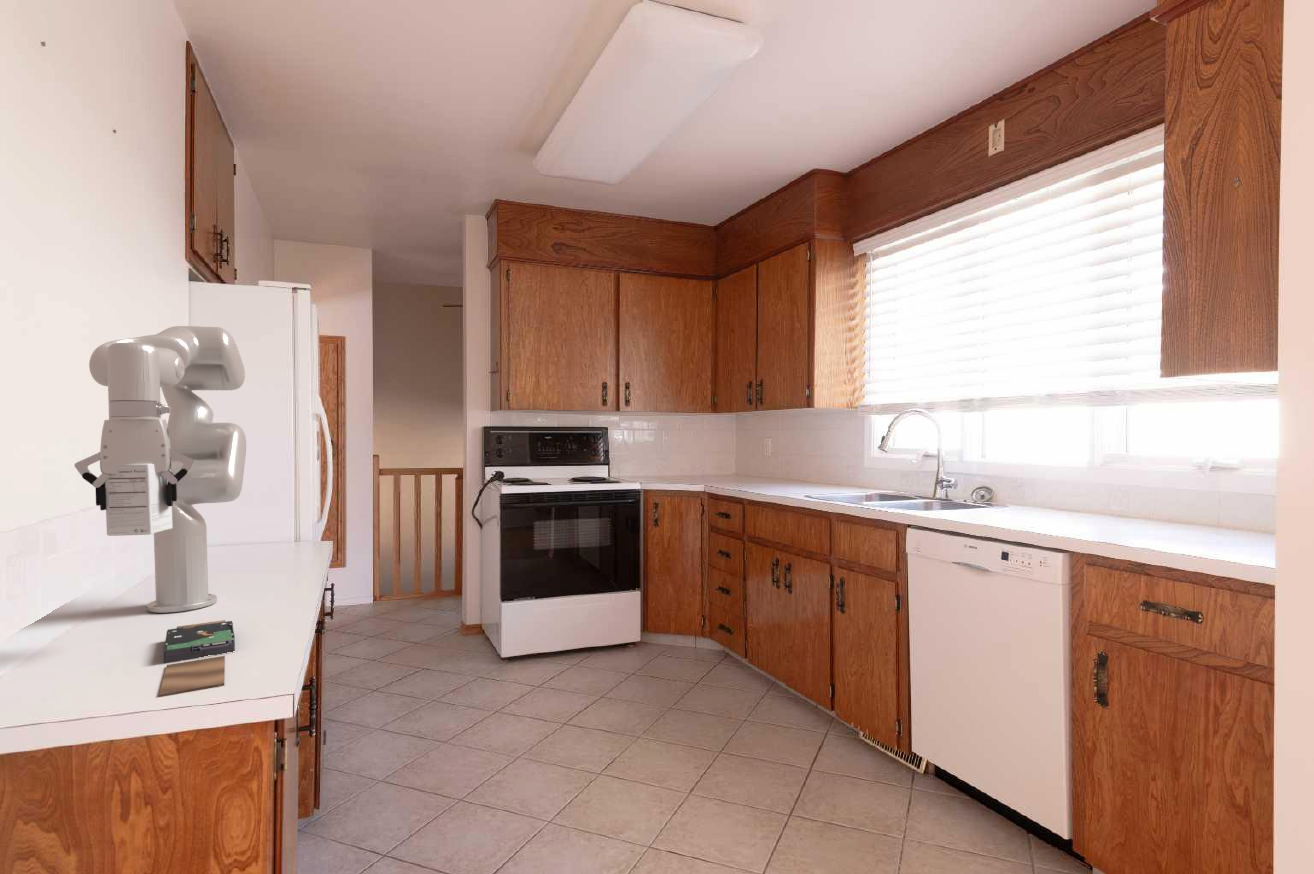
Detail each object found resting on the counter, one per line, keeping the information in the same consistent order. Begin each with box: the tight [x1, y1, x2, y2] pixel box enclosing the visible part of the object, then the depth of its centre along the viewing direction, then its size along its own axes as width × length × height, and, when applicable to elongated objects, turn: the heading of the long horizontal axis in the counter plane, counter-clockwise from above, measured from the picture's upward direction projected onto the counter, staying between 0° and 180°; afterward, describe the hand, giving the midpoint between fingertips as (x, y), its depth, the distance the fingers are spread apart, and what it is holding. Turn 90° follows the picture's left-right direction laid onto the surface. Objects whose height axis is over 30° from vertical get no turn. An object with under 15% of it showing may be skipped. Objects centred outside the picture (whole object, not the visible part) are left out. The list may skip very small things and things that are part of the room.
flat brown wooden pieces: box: [158, 619, 226, 697], centre depth 121 cm, size 41×8×1 cm, turn 31°
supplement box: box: [105, 464, 173, 537], centre depth 128 cm, size 7×7×13 cm
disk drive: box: [163, 620, 236, 664], centre depth 125 cm, size 10×3×15 cm
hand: (137, 507), depth 127 cm, fingers closed on supplement box, 9 cm apart
